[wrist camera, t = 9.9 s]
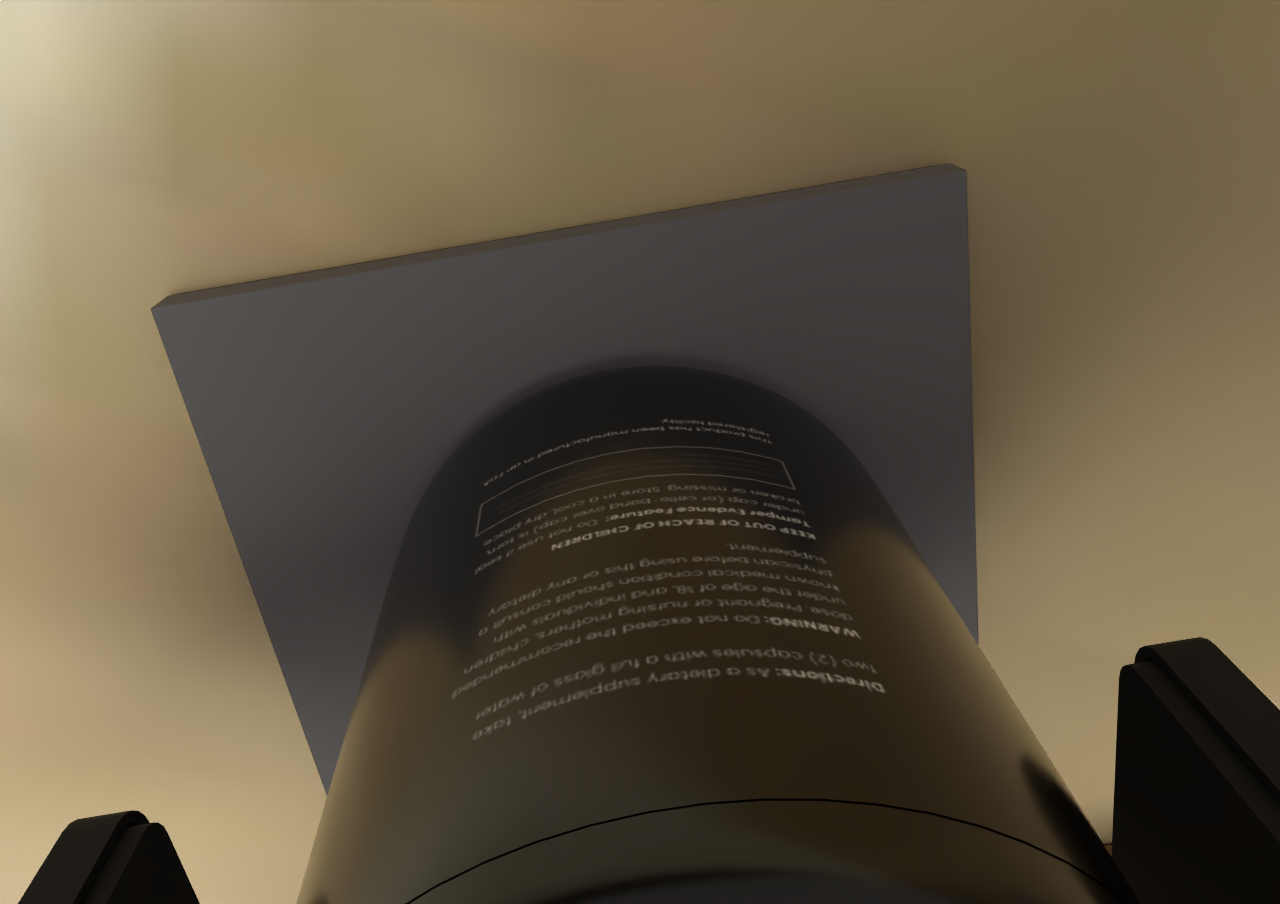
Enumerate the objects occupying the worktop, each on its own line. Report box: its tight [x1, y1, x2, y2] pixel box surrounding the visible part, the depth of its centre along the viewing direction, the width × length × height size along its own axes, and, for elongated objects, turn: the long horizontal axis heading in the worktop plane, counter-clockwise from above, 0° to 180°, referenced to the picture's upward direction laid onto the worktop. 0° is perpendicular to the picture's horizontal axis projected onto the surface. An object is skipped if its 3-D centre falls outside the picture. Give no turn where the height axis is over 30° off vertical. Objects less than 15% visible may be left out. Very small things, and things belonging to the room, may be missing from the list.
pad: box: [151, 163, 978, 796], centre depth 15 cm, size 10×10×1 cm
